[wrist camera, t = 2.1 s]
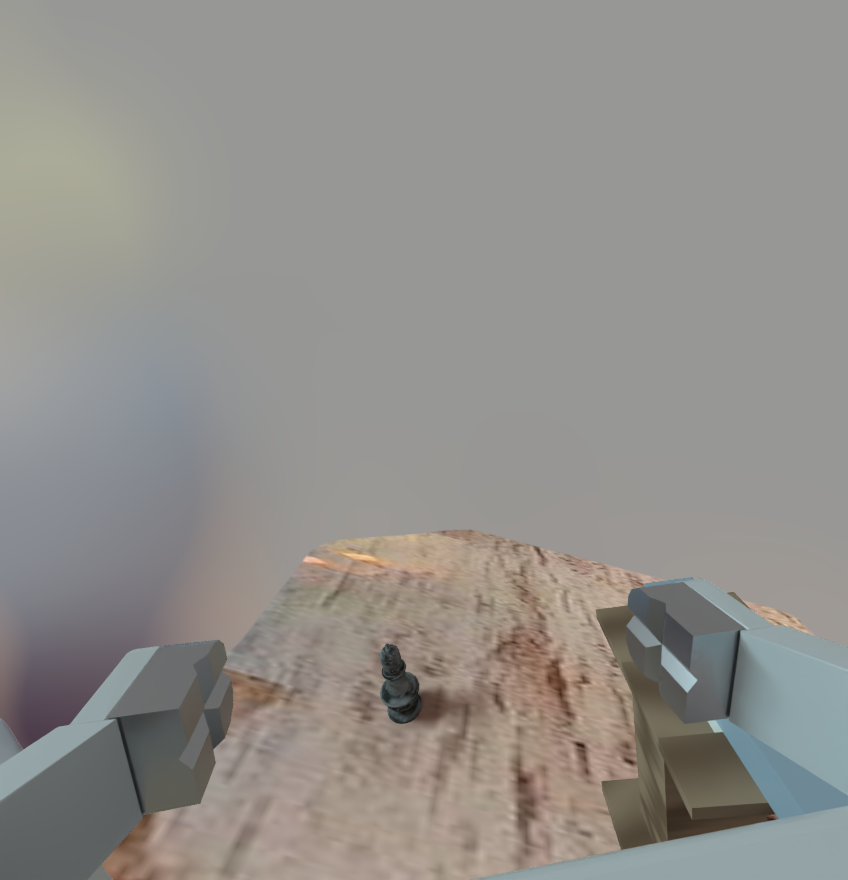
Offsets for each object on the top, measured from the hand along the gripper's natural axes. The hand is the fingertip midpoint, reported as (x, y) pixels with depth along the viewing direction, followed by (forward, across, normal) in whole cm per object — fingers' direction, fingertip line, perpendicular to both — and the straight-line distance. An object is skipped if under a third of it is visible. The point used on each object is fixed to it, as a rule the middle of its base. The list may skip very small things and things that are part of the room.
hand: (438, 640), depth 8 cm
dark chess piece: (+45, 0, -47) cm, 65 cm away
